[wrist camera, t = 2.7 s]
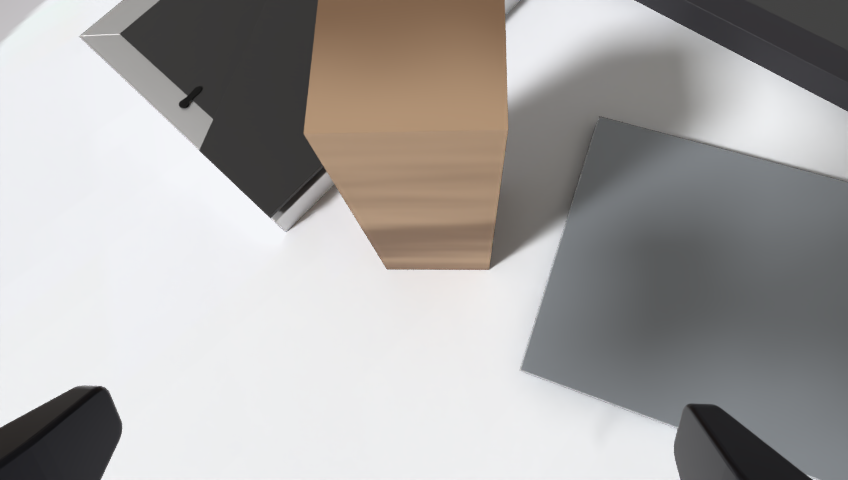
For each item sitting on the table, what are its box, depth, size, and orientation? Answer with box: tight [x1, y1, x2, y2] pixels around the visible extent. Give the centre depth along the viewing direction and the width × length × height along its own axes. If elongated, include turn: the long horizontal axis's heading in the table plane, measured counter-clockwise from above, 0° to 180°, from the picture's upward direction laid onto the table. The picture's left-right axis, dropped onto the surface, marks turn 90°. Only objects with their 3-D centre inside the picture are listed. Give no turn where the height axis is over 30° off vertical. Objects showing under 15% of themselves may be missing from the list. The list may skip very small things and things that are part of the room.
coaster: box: [520, 116, 848, 480], centre depth 21 cm, size 12×12×1 cm
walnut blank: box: [304, 0, 508, 270], centre depth 18 cm, size 4×4×12 cm
